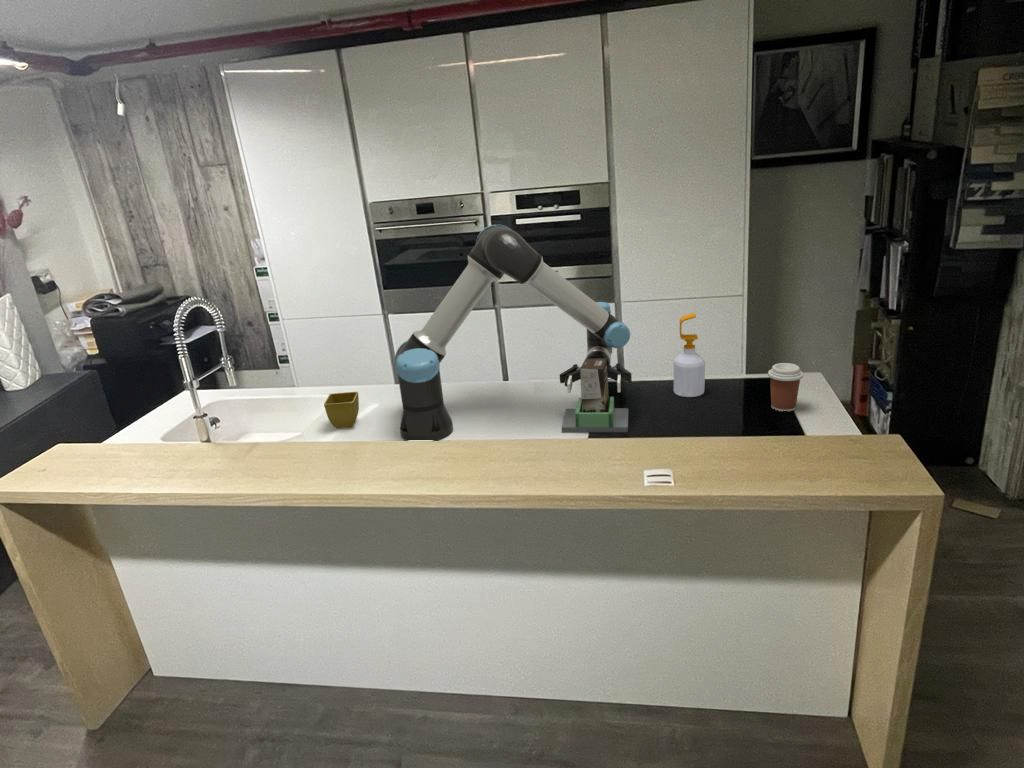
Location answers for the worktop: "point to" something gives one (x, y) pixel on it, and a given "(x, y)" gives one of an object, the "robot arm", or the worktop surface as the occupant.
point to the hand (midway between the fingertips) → (593, 388)
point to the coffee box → (594, 385)
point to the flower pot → (342, 409)
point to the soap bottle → (689, 367)
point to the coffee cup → (784, 386)
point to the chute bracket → (595, 419)
